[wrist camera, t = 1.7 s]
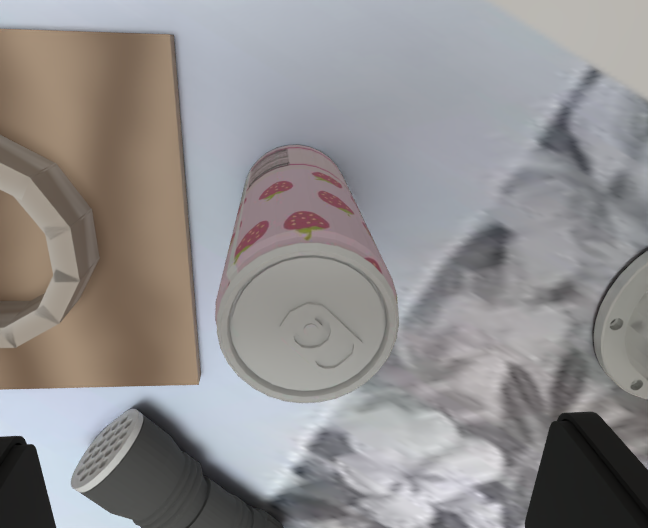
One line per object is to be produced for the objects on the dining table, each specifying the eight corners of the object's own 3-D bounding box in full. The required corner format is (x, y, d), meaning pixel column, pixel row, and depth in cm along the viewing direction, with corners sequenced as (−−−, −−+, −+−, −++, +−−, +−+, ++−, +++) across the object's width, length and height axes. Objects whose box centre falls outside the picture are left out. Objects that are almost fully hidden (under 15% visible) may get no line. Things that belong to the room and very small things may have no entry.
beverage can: (322, 255, 30) (359, 430, 16) (230, 222, 29) (184, 382, 15) (361, 166, 28) (440, 279, 14) (264, 127, 27) (247, 210, 13)
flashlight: (297, 515, 38) (300, 584, 33) (244, 550, 39) (240, 622, 34) (146, 394, 33) (122, 455, 28) (89, 438, 34) (57, 505, 29)
